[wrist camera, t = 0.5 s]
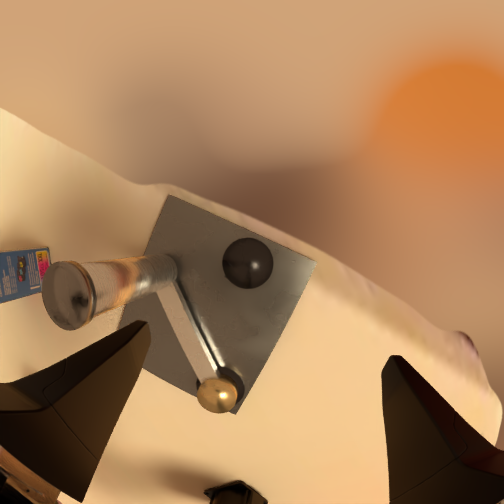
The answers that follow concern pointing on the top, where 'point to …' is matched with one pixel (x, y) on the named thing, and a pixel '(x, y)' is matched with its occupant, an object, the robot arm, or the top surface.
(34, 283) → the ink cartridge box
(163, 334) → the bolt plate
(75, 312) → the crank handle
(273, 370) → the top surface
